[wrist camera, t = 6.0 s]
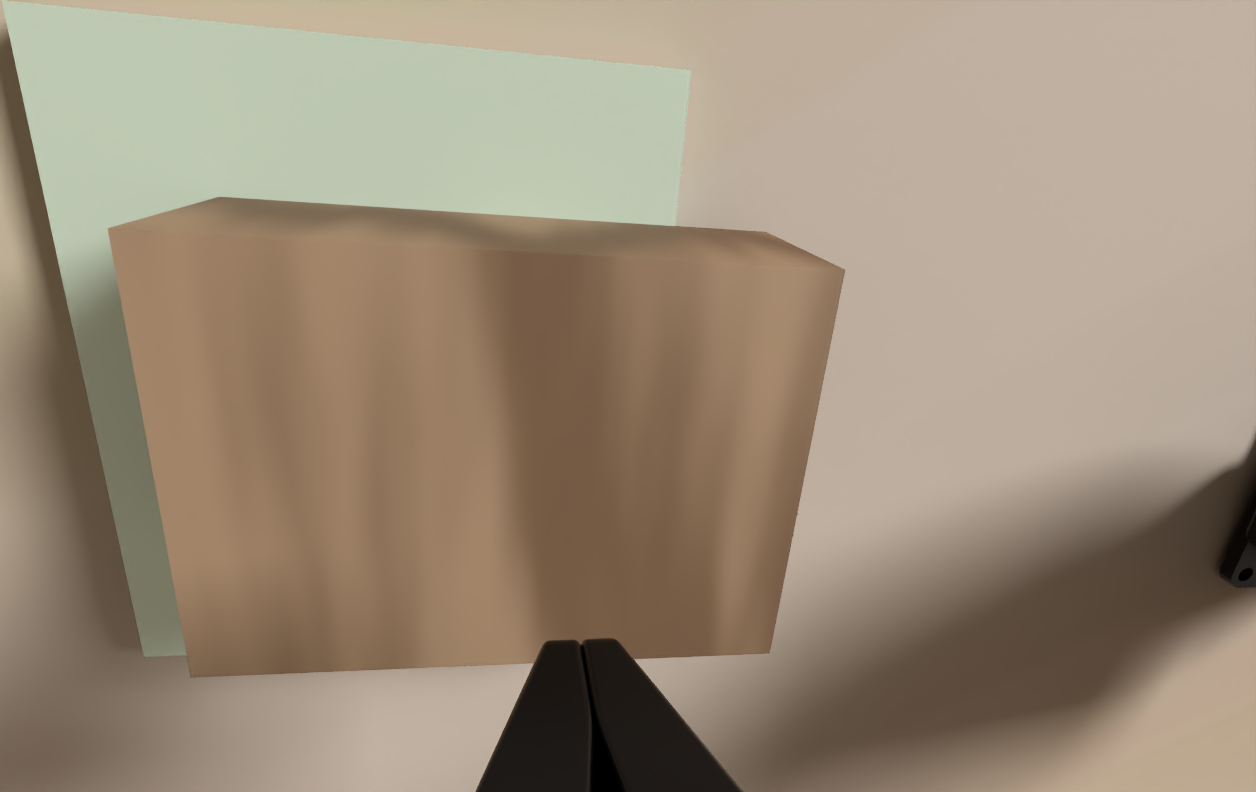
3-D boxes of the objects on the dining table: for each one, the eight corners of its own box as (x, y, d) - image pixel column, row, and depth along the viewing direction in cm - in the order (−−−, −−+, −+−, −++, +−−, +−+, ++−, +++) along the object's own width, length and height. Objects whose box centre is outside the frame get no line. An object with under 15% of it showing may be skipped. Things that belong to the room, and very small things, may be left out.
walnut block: (845, 269, 12) (107, 228, 10) (769, 653, 14) (190, 677, 13) (765, 231, 15) (219, 196, 13) (718, 544, 18) (263, 550, 16)
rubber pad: (680, 73, 15) (691, 70, 14) (626, 613, 20) (632, 638, 19) (39, 8, 13) (1, 0, 12) (162, 629, 18) (144, 656, 17)
